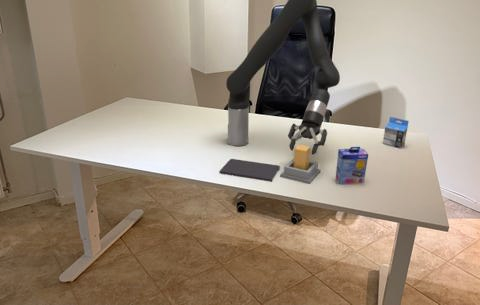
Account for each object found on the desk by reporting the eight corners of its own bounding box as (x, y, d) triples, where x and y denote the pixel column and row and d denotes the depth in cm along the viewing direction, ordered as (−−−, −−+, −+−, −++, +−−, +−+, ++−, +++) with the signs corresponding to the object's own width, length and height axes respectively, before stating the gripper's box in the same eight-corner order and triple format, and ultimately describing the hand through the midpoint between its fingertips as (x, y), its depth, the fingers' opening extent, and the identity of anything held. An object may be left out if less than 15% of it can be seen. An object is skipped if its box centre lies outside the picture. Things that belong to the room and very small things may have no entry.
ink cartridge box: (338, 184, 146) (343, 148, 140) (334, 178, 151) (338, 142, 145) (365, 183, 146) (370, 147, 141) (359, 177, 151) (364, 141, 146)
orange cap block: (293, 172, 152) (294, 148, 149) (297, 168, 156) (299, 144, 152) (304, 175, 150) (305, 151, 146) (308, 170, 154) (310, 147, 150)
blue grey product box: (382, 143, 183) (385, 118, 178) (385, 141, 185) (389, 116, 180) (401, 148, 177) (405, 122, 172) (404, 146, 180) (409, 120, 175)
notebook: (219, 174, 154) (272, 183, 148) (219, 171, 154) (272, 179, 147) (230, 161, 165) (280, 169, 159) (230, 158, 165) (280, 165, 158)
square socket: (280, 176, 151) (280, 167, 150) (292, 165, 161) (292, 156, 159) (309, 184, 146) (310, 174, 144) (320, 171, 156) (321, 162, 154)
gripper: (295, 107, 154) (281, 144, 149) (330, 112, 148) (317, 151, 143) (299, 116, 160) (286, 152, 156) (333, 122, 154) (321, 159, 149)
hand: (301, 151), depth 149 cm, fingers open, 8 cm apart
